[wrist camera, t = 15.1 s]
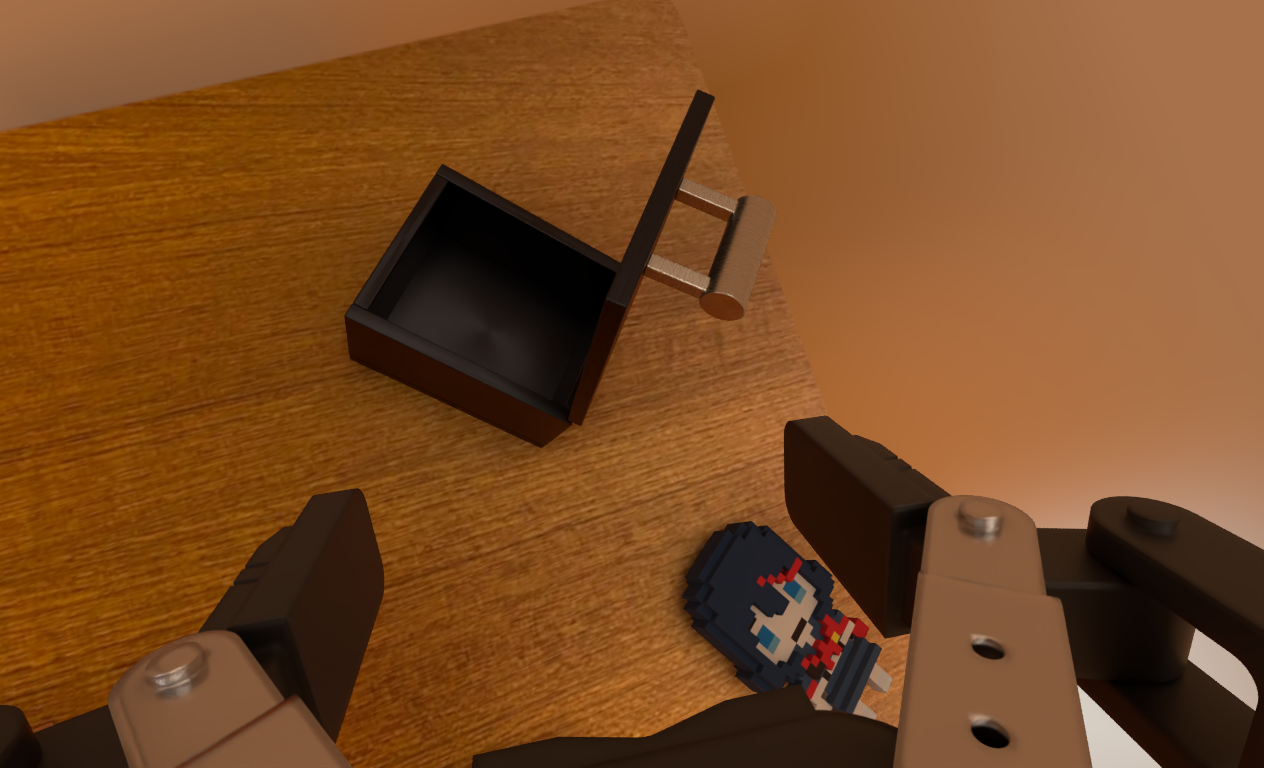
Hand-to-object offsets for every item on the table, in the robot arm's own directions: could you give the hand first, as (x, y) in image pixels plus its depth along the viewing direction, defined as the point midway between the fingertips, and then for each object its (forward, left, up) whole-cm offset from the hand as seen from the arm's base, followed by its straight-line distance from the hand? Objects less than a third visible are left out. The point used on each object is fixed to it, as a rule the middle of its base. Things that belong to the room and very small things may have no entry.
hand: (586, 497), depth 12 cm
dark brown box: (-11, +8, -27) cm, 30 cm away
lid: (-7, +11, -13) cm, 19 cm away
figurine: (+15, +16, -27) cm, 35 cm away
